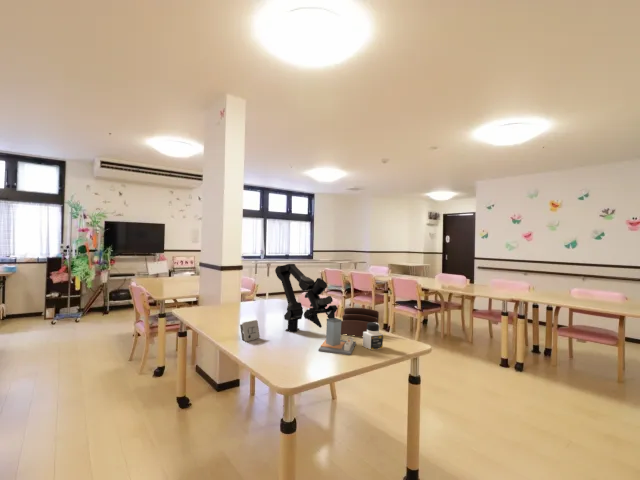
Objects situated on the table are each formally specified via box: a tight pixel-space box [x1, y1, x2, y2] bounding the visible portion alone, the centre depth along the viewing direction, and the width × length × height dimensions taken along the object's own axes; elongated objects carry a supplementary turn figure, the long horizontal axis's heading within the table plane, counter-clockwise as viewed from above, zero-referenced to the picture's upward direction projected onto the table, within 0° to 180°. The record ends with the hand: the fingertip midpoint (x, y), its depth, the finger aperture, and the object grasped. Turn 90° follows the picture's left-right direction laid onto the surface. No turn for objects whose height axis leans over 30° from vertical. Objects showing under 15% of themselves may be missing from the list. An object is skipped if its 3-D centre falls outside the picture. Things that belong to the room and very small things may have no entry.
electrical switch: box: [239, 319, 261, 342], centre depth 168 cm, size 9×5×9 cm, turn 141°
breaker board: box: [318, 336, 357, 356], centre depth 160 cm, size 18×15×4 cm
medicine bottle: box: [362, 322, 384, 351], centre depth 162 cm, size 7×7×12 cm
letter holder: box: [341, 307, 380, 337], centre depth 185 cm, size 10×20×14 cm, turn 75°
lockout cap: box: [325, 317, 343, 346], centre depth 161 cm, size 5×5×12 cm
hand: (328, 326), depth 164 cm, fingers open, 9 cm apart
